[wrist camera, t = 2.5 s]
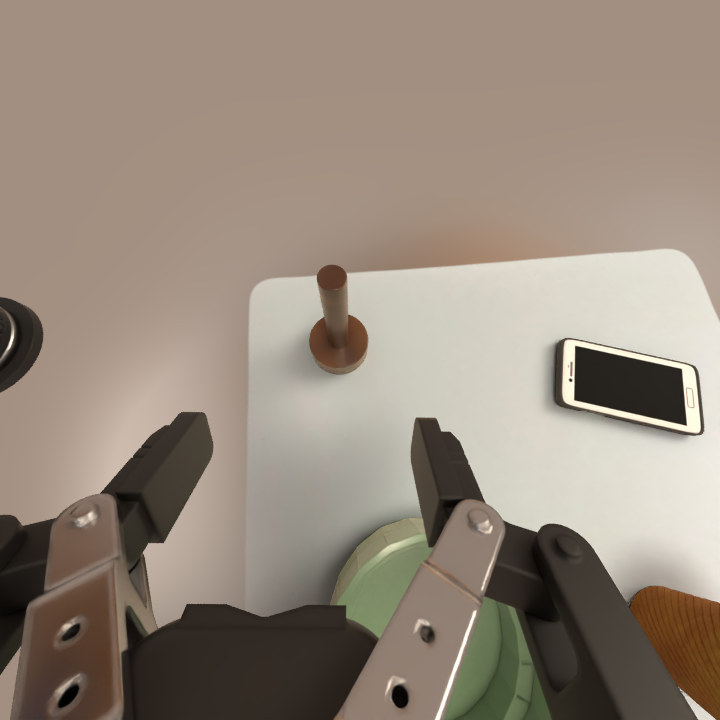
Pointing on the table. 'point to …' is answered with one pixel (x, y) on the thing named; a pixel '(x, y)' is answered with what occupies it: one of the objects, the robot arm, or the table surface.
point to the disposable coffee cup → (684, 640)
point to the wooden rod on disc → (337, 326)
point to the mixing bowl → (488, 642)
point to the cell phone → (629, 386)
